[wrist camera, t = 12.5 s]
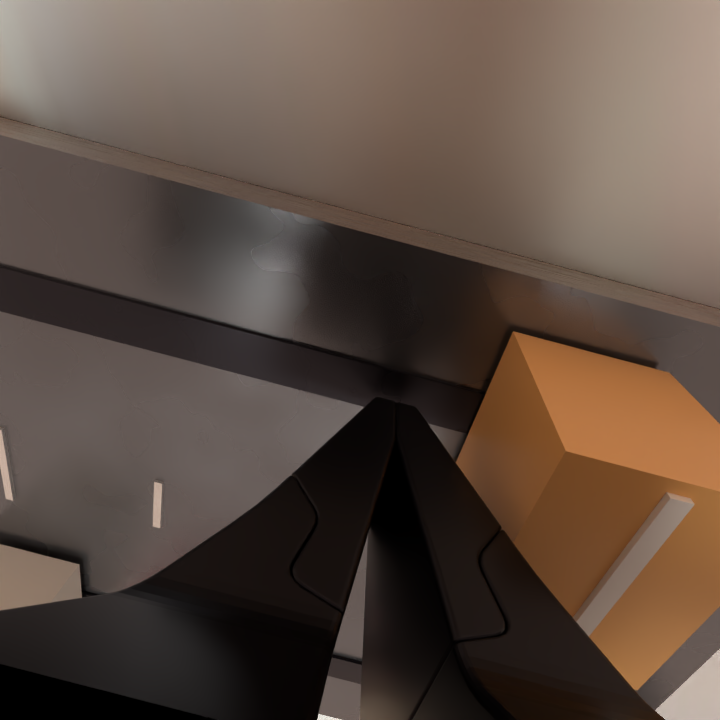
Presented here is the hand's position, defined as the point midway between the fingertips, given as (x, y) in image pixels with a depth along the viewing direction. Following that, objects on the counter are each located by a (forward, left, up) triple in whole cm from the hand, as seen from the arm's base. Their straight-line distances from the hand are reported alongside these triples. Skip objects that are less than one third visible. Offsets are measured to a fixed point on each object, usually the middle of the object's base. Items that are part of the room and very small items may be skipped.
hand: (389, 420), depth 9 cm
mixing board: (+1, +5, -2) cm, 5 cm away
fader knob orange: (-3, 0, -1) cm, 3 cm away
